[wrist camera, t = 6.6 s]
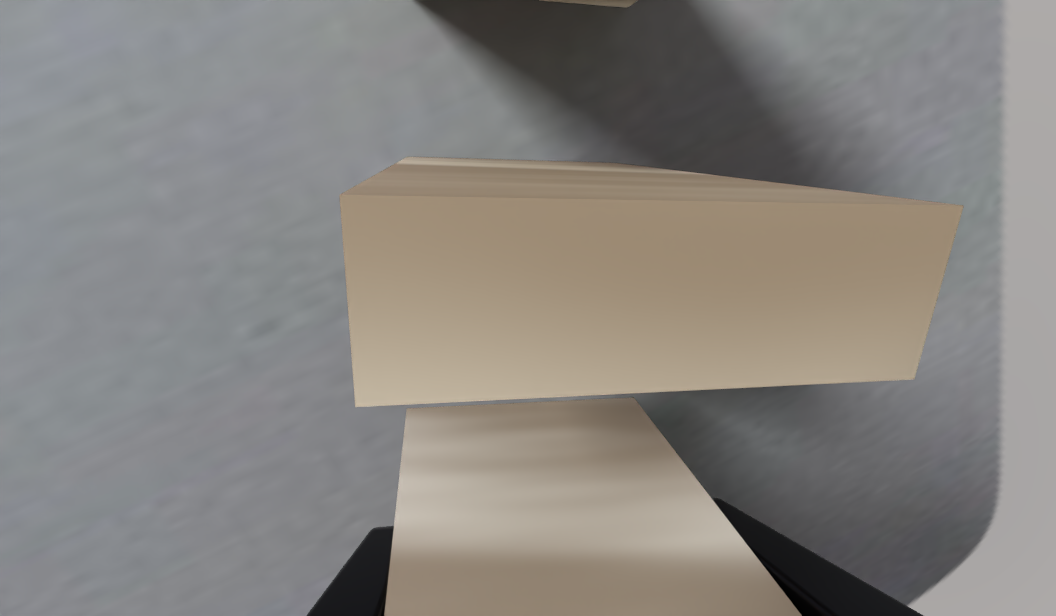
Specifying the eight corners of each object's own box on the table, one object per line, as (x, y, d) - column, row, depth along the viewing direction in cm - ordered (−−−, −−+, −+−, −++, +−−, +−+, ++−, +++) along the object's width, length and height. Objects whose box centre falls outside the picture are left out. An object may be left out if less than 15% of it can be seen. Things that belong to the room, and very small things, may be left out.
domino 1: (609, 227, 13) (914, 378, 5) (409, 225, 12) (354, 406, 4) (614, 162, 13) (962, 205, 4) (407, 156, 12) (339, 195, 3)
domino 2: (627, 458, 12) (1061, 1180, 4) (409, 473, 11) (331, 1451, 3) (633, 397, 12) (1148, 1065, 3) (406, 408, 11) (302, 1359, 2)
